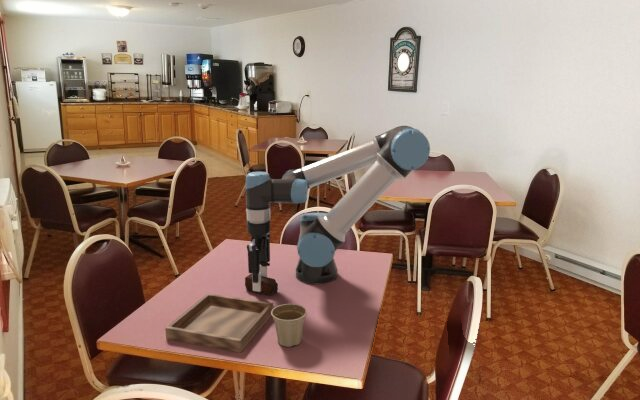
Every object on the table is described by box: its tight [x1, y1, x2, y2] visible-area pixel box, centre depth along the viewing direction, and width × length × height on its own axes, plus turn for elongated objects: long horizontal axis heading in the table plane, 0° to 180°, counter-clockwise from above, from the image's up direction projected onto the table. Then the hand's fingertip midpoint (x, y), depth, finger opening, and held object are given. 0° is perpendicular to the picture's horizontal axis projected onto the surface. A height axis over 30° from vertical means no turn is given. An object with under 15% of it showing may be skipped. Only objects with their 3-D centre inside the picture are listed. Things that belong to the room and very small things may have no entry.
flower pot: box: [271, 303, 308, 348], centre depth 122 cm, size 9×9×9 cm
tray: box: [164, 292, 274, 353], centre depth 130 cm, size 22×22×3 cm
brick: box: [244, 273, 279, 296], centre depth 152 cm, size 11×4×5 cm, turn 64°
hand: (260, 287), depth 152 cm, fingers closed on brick, 4 cm apart
